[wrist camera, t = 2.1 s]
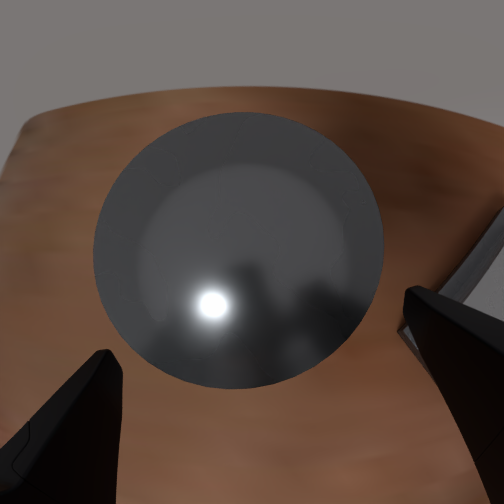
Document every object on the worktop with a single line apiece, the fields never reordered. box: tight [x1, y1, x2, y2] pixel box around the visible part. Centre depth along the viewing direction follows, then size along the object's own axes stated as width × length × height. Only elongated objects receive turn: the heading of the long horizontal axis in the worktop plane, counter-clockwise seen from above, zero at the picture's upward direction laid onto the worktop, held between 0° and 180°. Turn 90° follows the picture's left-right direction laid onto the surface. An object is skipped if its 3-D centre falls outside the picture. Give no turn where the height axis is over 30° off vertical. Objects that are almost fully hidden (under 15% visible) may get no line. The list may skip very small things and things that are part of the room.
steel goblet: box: [93, 112, 384, 389], centre depth 12 cm, size 7×7×14 cm
